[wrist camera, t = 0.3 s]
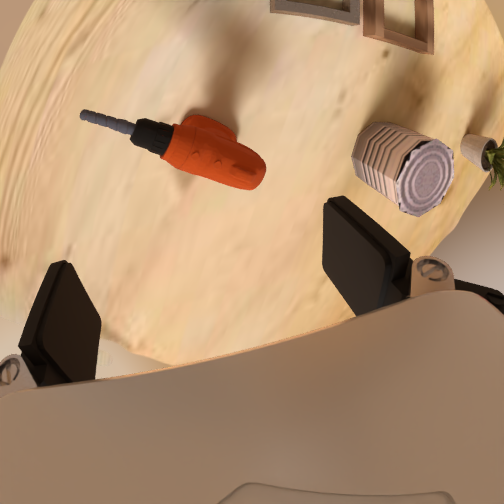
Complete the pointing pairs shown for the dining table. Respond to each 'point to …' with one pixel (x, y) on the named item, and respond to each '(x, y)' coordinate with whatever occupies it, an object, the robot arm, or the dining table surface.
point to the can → (404, 166)
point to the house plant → (484, 155)
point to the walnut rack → (376, 30)
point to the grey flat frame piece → (319, 11)
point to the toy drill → (193, 147)
